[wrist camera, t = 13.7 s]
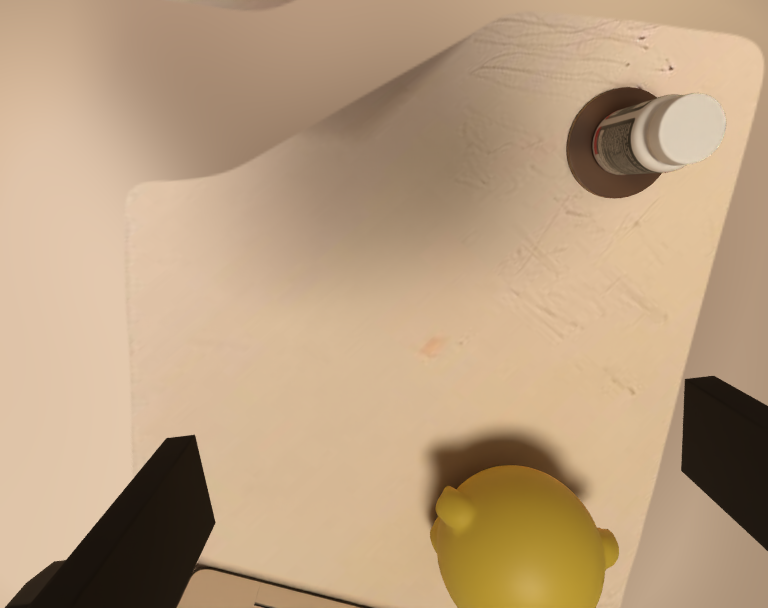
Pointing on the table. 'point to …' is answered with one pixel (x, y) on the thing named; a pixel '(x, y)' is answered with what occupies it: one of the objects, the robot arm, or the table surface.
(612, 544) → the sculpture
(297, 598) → the laminator
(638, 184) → the coaster
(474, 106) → the table surface
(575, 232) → the table surface
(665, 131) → the pill bottle
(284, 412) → the table surface
